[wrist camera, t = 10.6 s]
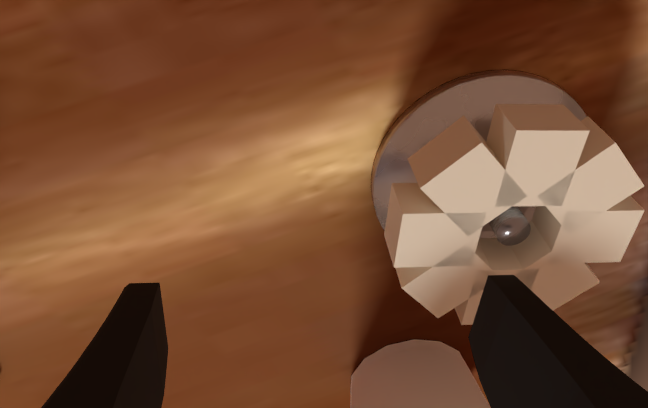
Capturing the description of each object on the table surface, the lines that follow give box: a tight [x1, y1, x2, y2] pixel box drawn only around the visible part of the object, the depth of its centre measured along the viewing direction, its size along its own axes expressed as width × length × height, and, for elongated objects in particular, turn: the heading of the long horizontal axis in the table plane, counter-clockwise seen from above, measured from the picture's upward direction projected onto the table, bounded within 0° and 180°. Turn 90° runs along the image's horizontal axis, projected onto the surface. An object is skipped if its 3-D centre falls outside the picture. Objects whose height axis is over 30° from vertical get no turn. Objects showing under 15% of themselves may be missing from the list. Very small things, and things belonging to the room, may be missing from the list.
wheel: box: [384, 104, 645, 325], centre depth 20 cm, size 8×8×2 cm
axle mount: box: [371, 70, 587, 246], centre depth 21 cm, size 9×9×4 cm
